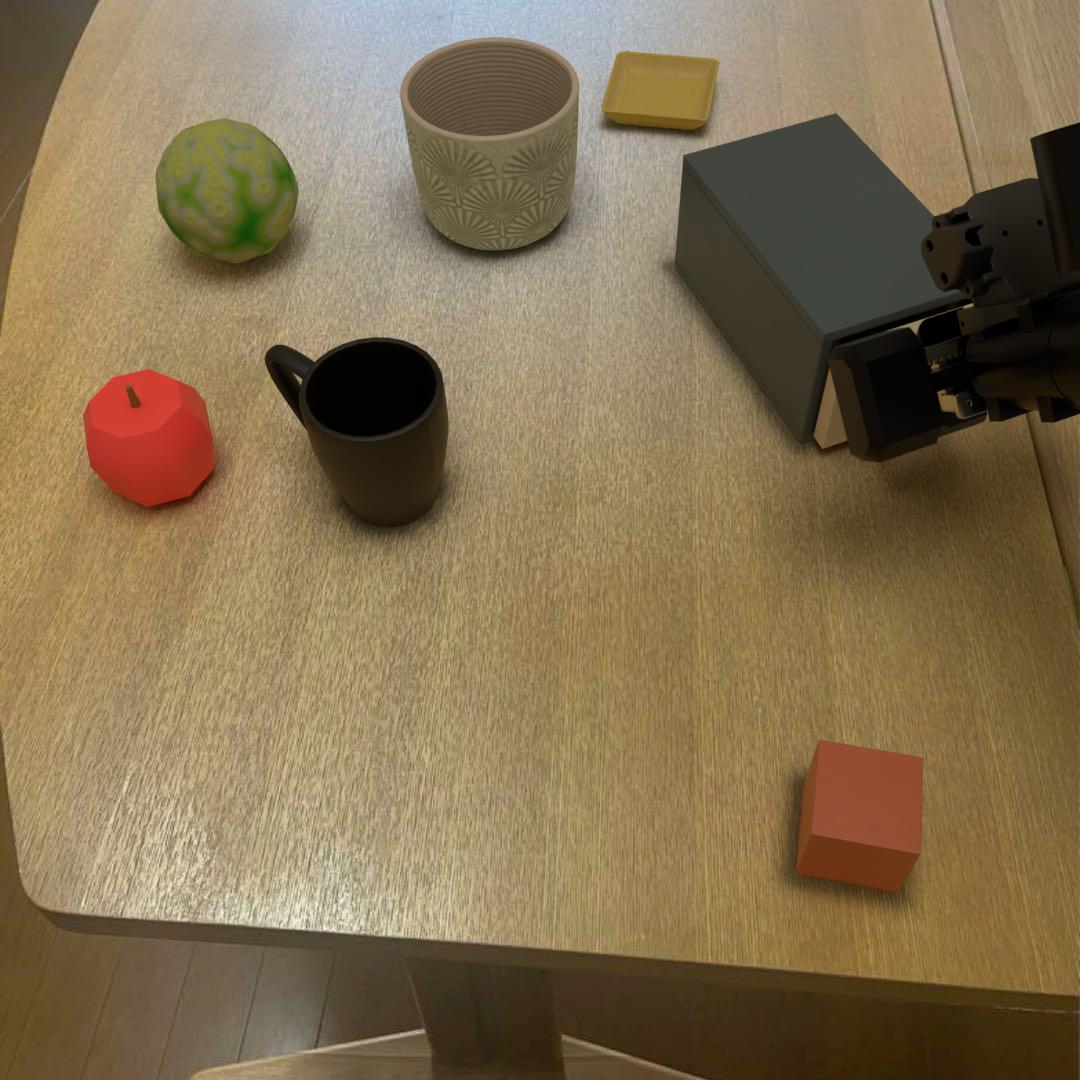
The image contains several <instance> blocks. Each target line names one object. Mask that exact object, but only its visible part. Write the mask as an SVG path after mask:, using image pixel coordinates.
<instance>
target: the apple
mask: <svg viewBox="0 0 1080 1080" xmlns="http://www.w3.org/2000/svg"><path fill="white" fill-rule="evenodd" d="M82 419H83V427H84V437H85V445H86V452H87V457H88V461H89V466H90V468H91V469H92V470H93V472H94V473H95V474H96V475H97V476H98V477H99V478H100V479H101V480H102V481H103V482H104V483H105V484H106V486H108V487H109V489H110V490H112V492H113V493H115V494H117V495H119V496H122V497H124V498H126V499H128V500H131V501H133V502H135V503H137V504H139V505H142V506H145V507H146V508H148V507H152V506H157V505H160V504H164V503H167V502H171V501H172V502H173V501H176V500H179V499H180V500H181V499H183V498H187V497H191V495H192V494H193V493H194V492H195V491H196V490H197V488H198V487H199V486H200V485H201V484H202V483H203V482H204V480H205V479H206V478H207V477H208V476H209V475H210V474H211V473H212V471H213V470H214V469H215V468H216V463H215V462H216V461H215V453H214V440H213V433H212V429H211V423H210V418H209V413H208V408H207V403H206V401H205V400H204V399H203V397H202V395H201V394H200V393H199V391H198V390H197V389H196V388H195V387H193V386H192V385H190V384H187V383H185V382H183V381H180V380H178V379H175V378H172V377H170V376H168V375H166V374H162V373H160V372H158V371H155V370H152V369H150V368H146V369H143V370H138V371H134V372H129V373H125V374H121V375H116V376H112V377H111V379H109V380H108V382H107V383H105V384H104V386H102V387H101V388H100V390H98V391H97V392H96V393H95V394H94V396H93V397H91V399H89V400H88V404H87V405H86V407H85V409H84V411H83V413H82Z"/></svg>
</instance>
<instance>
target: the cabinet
mask: <svg viewBox="0 0 1080 1080" xmlns="http://www.w3.org/2000/svg"><path fill="white" fill-rule="evenodd" d="M680 179H681V180H680V192H679V193H680V194H679V205H678V218H677V230H676V241H675V242H676V243H675V254H674V255H675V256H674V257H675V258H674V269H675V271H676V272H677V273H678V274H679V276H680V277H681V279H682V280H683V281H684V283H685V285H686V286H687V287H688V289H689V290H690V291H691V292H692V295H694V297H695V298H696V300H697V301H698V303H699V304H700V306H701V307H702V308H703V310H704V311H705V313H706V314H707V315H708V317H709V318H710V319H711V321H712V323H713V324H714V325H715V327H716V328H717V330H718V331H719V332H720V334H721V335H722V336H723V338H724V340H725V341H726V342H727V344H728V345H729V347H730V348H731V349H732V351H733V352H734V354H735V355H736V356H737V358H738V359H739V361H740V362H741V364H742V365H743V367H745V369H746V370H747V372H748V373H749V375H750V376H751V378H752V379H753V380H754V382H755V383H756V385H757V386H758V387H759V389H760V390H761V392H762V393H763V394H764V396H765V397H766V399H767V400H768V401H769V403H770V404H771V406H772V407H773V409H774V410H775V411H776V413H777V414H778V415H779V417H780V418H781V420H782V421H783V423H784V424H785V425H786V427H787V428H788V430H789V431H790V432H791V434H792V435H793V436H794V438H795V440H796V441H797V442H798V444H799V445H803V444H804V443H807V442H811V441H814V440H816V439H815V438H814V432H815V428H816V423H817V419H818V415H819V414H817V410H818V405H819V401H820V397H821V392H822V388H823V384H824V379H825V375H826V371H827V366H828V359H829V357H830V353H831V349H832V345H833V341H834V340H837V339H840V338H843V337H846V336H849V335H853V334H856V333H859V332H862V331H865V330H868V329H871V328H875V327H878V326H881V325H884V324H887V323H890V322H893V321H897V320H900V319H903V318H906V317H909V316H912V315H916V314H919V313H922V312H925V311H928V310H931V309H934V308H938V307H941V306H944V305H947V304H950V303H953V302H956V301H959V304H958V307H957V308H960V307H963V306H966V305H969V304H972V303H973V302H972V300H970V299H966V298H965V297H964V296H963V294H962V292H961V291H959V290H956V289H954V290H950V291H947V292H943V291H941V290H939V289H938V288H937V287H936V285H935V283H934V281H933V279H932V277H931V274H930V272H929V270H928V268H927V266H926V263H925V261H924V259H923V257H922V254H921V243H922V241H923V239H924V238H925V237H926V236H927V235H928V234H929V233H930V232H931V231H932V230H933V228H932V219H933V217H934V216H935V215H934V214H933V213H932V212H931V211H930V210H929V209H928V208H927V207H926V205H924V203H922V202H921V200H920V199H919V198H918V197H917V196H916V195H915V194H914V193H913V192H912V190H910V189H909V188H908V186H906V184H904V182H903V181H901V179H900V178H899V177H898V176H897V175H896V174H895V173H894V172H893V170H891V169H890V168H889V167H888V165H886V163H884V161H883V160H882V159H881V158H880V157H879V156H878V155H877V154H876V153H875V152H874V151H873V150H872V149H871V147H870V146H868V145H867V144H866V142H865V141H864V140H863V139H862V138H861V137H860V136H859V135H858V134H857V133H856V132H855V131H854V130H853V129H852V127H850V125H848V124H847V122H845V120H844V119H843V118H842V117H841V115H839V114H838V113H837V112H835V113H832V114H828V115H827V114H826V115H824V116H820V117H817V118H813V119H809V120H806V121H802V122H798V123H795V124H791V125H787V126H783V127H781V128H775V129H772V130H769V131H765V132H762V133H758V134H755V135H754V134H753V135H751V136H747V137H745V138H740V139H737V140H733V141H730V142H726V143H722V144H718V145H714V146H711V147H708V148H704V149H699V150H696V151H693V152H689V153H686V154H683V156H682V168H681V178H680Z"/></svg>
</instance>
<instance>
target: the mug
mask: <svg viewBox="0 0 1080 1080" xmlns="http://www.w3.org/2000/svg"><path fill="white" fill-rule="evenodd" d="M264 364H265V367H266V370H267V372H268V374H269V376H270V378H271V380H272V381H273V384H274V385H275V386H276V388H277V390H278V391H279V393H280V395H281V396H282V398H283V399H284V400H285V402H286V403H287V405H288V407H289V408H290V410H291V411H292V412H293V413H294V415H295V416H296V418H297V420H298V421H299V422H300V424H301V425H302V426H303V428H304V429H305V430H306V433H307V436H308V439H309V442H310V445H311V447H312V450H313V451H314V455H315V456H316V459H317V461H318V463H319V465H320V468H322V470H323V472H324V474H325V476H326V477H327V478H328V481H330V482H331V484H332V486H333V487H334V488H335V489H336V491H337V492H338V493H339V495H340V496H341V497H342V498H343V499H344V501H345V502H346V503H347V504H348V505H349V507H350V508H351V510H352V511H353V512H354V514H355V515H356V516H357V517H358V518H360V519H361V520H362V521H364V522H366V523H368V524H370V525H373V526H378V527H382V528H390V527H391V528H394V527H399V526H401V527H402V526H405V525H407V524H410V523H413V522H415V521H416V520H418V519H419V518H421V517H422V516H423V515H425V514H426V513H427V512H428V511H429V510H430V508H431V507H432V506H433V504H434V502H435V499H436V498H437V492H438V487H439V485H440V481H441V478H442V475H443V470H444V467H445V463H446V462H445V461H446V457H447V449H448V441H449V440H448V439H449V426H450V425H449V423H450V421H449V411H448V410H449V409H448V403H447V396H446V389H445V382H444V376H443V372H442V370H441V368H440V367H439V365H438V363H437V361H436V360H435V359H434V358H433V357H432V356H431V354H429V352H427V351H426V350H424V349H423V348H421V347H420V346H419V345H417V344H414V343H411V342H409V341H406V340H403V339H398V338H392V337H387V336H386V337H382V336H381V337H379V336H371V337H366V338H365V337H364V338H359V339H354V340H351V341H348V342H344V343H341V344H339V345H337V346H336V347H334V348H331V349H329V350H327V352H325V353H323V354H322V355H321V356H319V357H318V358H317V359H316V360H315V361H314V360H313V359H311V358H310V357H308V356H307V355H305V354H303V353H302V352H301V351H299V350H297V349H294V348H292V347H291V346H288V345H285V344H275V345H273V346H271V347H269V349H268V350H267V351H266V352H265V354H264ZM297 377H298V378H300V379H301V383H300V381H299V380H298V378H297Z"/></svg>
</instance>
